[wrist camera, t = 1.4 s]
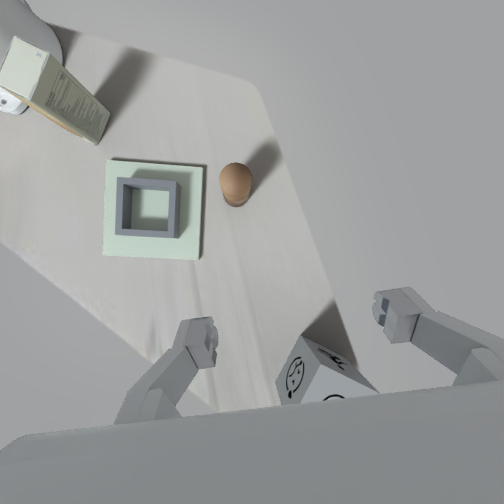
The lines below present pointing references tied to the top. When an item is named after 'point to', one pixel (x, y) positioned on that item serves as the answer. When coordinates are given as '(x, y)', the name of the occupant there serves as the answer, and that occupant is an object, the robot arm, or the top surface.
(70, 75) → the skincare box
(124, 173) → the collar holder
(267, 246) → the top surface
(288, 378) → the icon cube
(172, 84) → the top surface
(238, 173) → the brown dome-topped peg
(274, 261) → the top surface
